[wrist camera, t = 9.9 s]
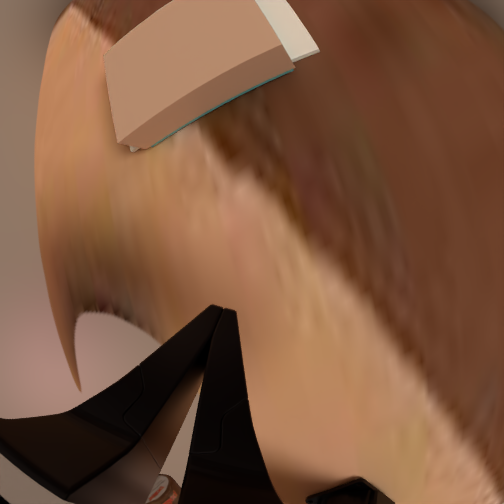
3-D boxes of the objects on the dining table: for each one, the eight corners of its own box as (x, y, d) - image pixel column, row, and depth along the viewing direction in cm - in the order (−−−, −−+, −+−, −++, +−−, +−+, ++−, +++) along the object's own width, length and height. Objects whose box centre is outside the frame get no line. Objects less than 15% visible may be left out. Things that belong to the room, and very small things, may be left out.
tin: (131, 480, 31) (97, 510, 23) (118, 466, 31) (82, 494, 23) (198, 487, 25) (159, 533, 17) (183, 470, 25) (140, 515, 18)
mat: (319, 51, 15) (318, 48, 15) (134, 152, 22) (130, 151, 21) (253, -40, 15) (251, -42, 15) (113, 48, 22) (111, 47, 21)
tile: (281, 44, 12) (231, -33, 12) (117, 143, 17) (103, 55, 17) (297, 71, 16) (250, -7, 16) (151, 150, 20) (131, 68, 20)
